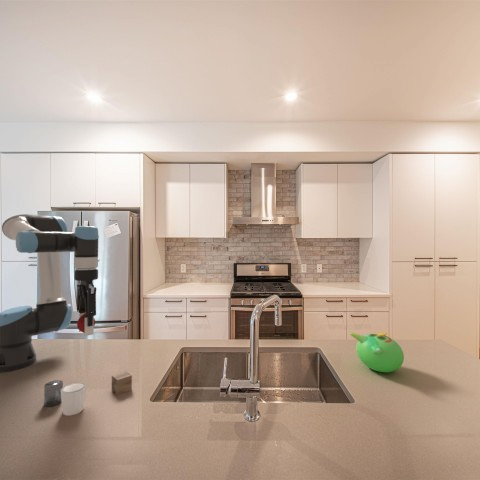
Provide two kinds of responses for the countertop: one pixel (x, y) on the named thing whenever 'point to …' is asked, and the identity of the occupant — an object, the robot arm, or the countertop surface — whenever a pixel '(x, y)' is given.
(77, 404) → the white short cylinder
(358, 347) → the toy bird
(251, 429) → the countertop surface
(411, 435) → the countertop surface
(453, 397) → the countertop surface
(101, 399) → the countertop surface
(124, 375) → the walnut block
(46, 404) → the metal tin
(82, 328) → the onion
